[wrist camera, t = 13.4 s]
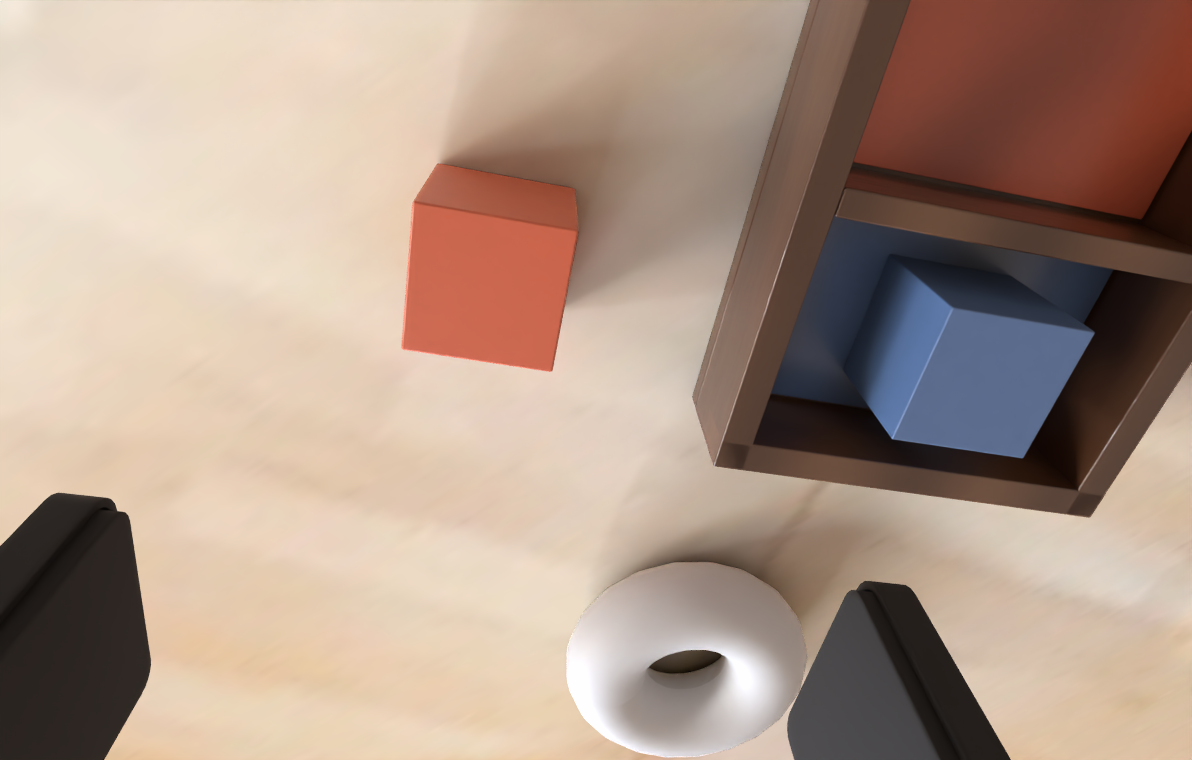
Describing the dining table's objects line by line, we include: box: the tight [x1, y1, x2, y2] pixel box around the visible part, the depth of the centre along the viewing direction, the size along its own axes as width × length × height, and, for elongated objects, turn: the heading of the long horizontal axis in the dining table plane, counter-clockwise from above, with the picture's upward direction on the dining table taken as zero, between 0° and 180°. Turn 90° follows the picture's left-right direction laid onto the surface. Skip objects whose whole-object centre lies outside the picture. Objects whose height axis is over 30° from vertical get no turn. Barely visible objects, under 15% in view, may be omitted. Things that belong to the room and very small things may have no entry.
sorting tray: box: [693, 0, 1192, 517], centre depth 21 cm, size 13×17×4 cm
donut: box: [567, 562, 808, 757], centre depth 30 cm, size 10×4×10 cm
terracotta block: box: [402, 164, 579, 372], centre depth 21 cm, size 4×4×4 cm
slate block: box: [843, 254, 1095, 458], centre depth 22 cm, size 4×4×4 cm
